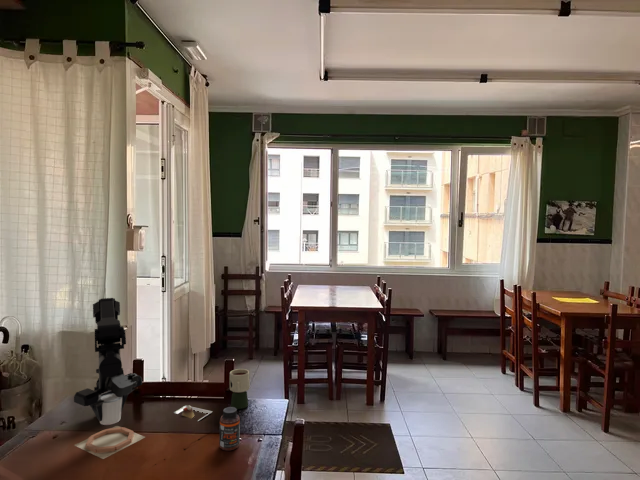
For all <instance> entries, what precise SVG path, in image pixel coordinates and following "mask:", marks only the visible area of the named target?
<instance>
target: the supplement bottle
mask: <svg viewBox="0 0 640 480" xmlns="http://www.w3.org/2000/svg"><path fill="white" fill-rule="evenodd" d="M237 410H238V409H236V408H234V407H231V406H228V407H225V408H224V409H223V411H222V415H221V417H220V418H219V439H218V440H219V443H218V444H219V448H220V449H221V450H223V451H226V452H228V451H233V450H236V449H237V448H238V447H240V430H241V429H240V426H241V425H240V424H241V422H240V421H241V419H240V416H239V414H237Z"/></svg>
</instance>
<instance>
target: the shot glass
mask: <svg viewBox="0 0 640 480" xmlns="http://www.w3.org/2000/svg"><path fill="white" fill-rule="evenodd" d="M101 400H104V402H103V404H102V421H99V424H100V425H102V426H103V425H104V426H109V425H114V424H117V423H118V422H119V421H121V417H122V412H121V408H122V397H117V396H116V395H115V394H114V393H112V394H107V395H103V396H101Z"/></svg>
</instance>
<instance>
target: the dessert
mask: <svg viewBox="0 0 640 480" xmlns="http://www.w3.org/2000/svg"><path fill="white" fill-rule="evenodd" d="M193 410H195V412H197V411H199V412H198V413H202V412H203V413H202V414H205V415H203V416H202V417H201V418H199V419H198V420H197V422H199V421H201V420H202V419H204V418H205V417H207V416H209V415H210V414H212V413H213V410H208V409H203V408H199V407H194V406H191V405H190V404H189V405H184V406H182V407H181V408H179V409H177V410H176V411H173V413H174V414H175V415H176V414H177V415H178V414H180V413H181V416H182V417H185V418H189V419H191V420H193V419H194V418H195V417H194V416H195V413H194V411H193ZM206 413H208V414H206ZM193 417H194V418H193ZM192 418H193V419H192Z"/></svg>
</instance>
